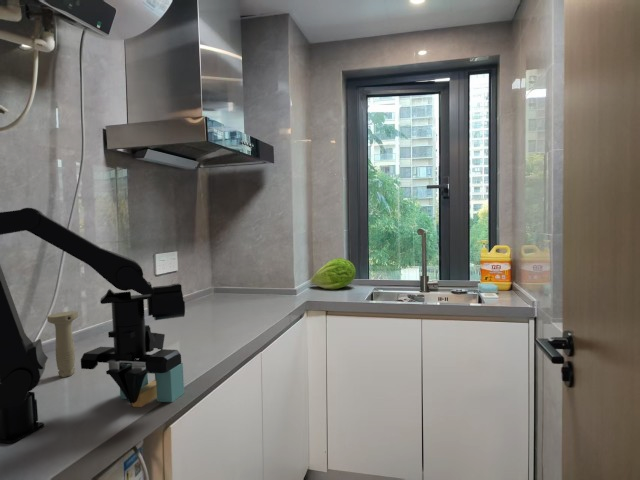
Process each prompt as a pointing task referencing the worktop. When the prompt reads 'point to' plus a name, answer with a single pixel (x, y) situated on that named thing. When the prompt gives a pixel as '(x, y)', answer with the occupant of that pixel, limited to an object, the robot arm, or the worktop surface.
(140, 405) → the plug
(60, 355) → the handle
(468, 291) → the worktop surface
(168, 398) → the housing
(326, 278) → the lettuce
